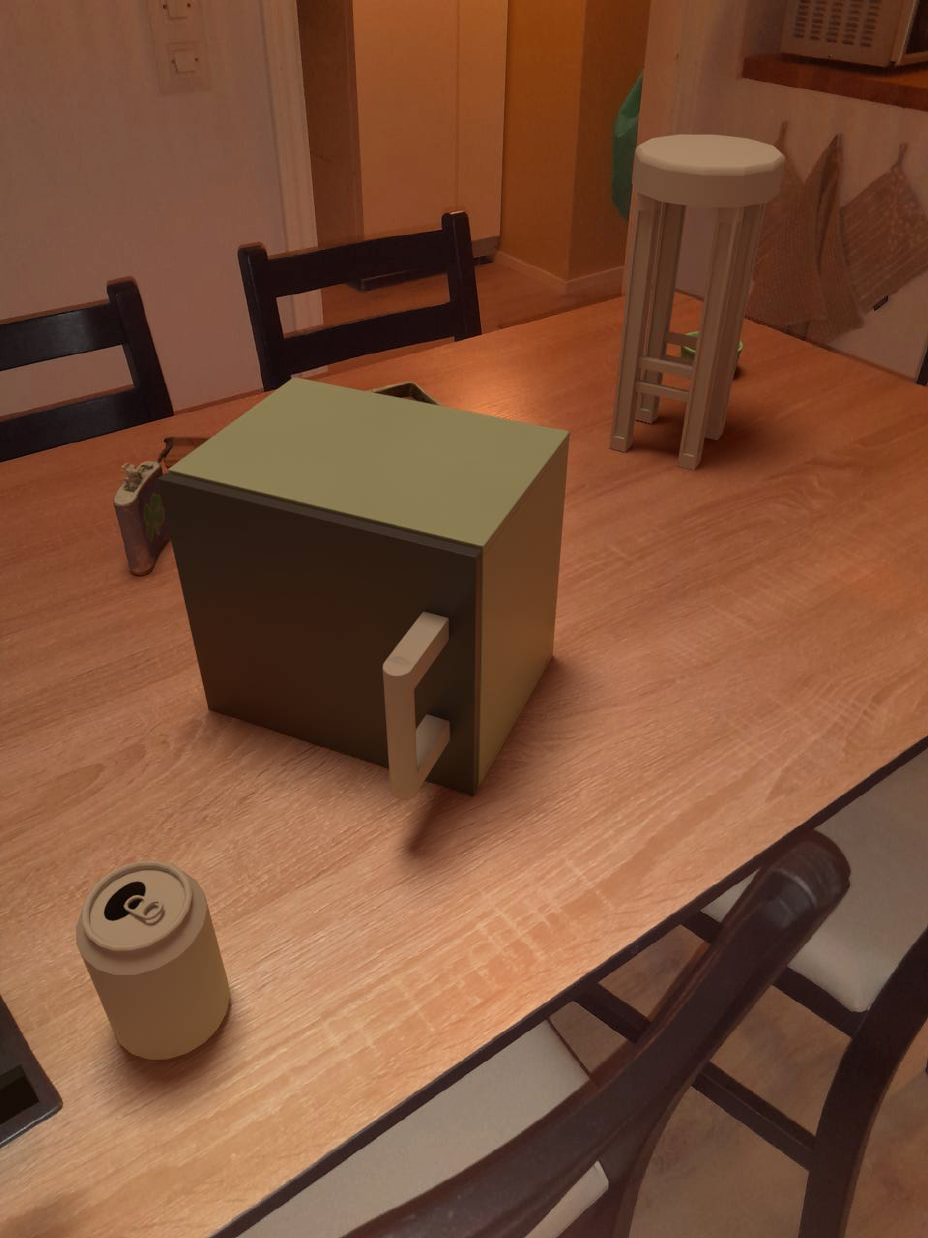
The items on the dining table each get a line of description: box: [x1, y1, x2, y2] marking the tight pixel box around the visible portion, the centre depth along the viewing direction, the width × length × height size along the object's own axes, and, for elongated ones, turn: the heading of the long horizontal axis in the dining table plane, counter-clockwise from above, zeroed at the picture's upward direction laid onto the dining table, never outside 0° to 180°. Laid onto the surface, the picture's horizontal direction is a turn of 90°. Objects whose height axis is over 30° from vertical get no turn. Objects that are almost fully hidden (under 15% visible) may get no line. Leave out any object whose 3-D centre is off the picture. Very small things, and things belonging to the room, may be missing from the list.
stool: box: [609, 133, 786, 471], centre depth 115 cm, size 16×16×35 cm
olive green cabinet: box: [167, 376, 571, 787], centre depth 82 cm, size 18×26×24 cm
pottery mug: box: [156, 435, 213, 470], centre depth 114 cm, size 12×10×8 cm
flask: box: [112, 460, 171, 577], centre depth 102 cm, size 9×3×11 cm, turn 173°
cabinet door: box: [158, 472, 482, 800], centre depth 72 cm, size 8×26×23 cm, turn 67°
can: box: [75, 859, 231, 1061], centre depth 60 cm, size 8×8×12 cm
